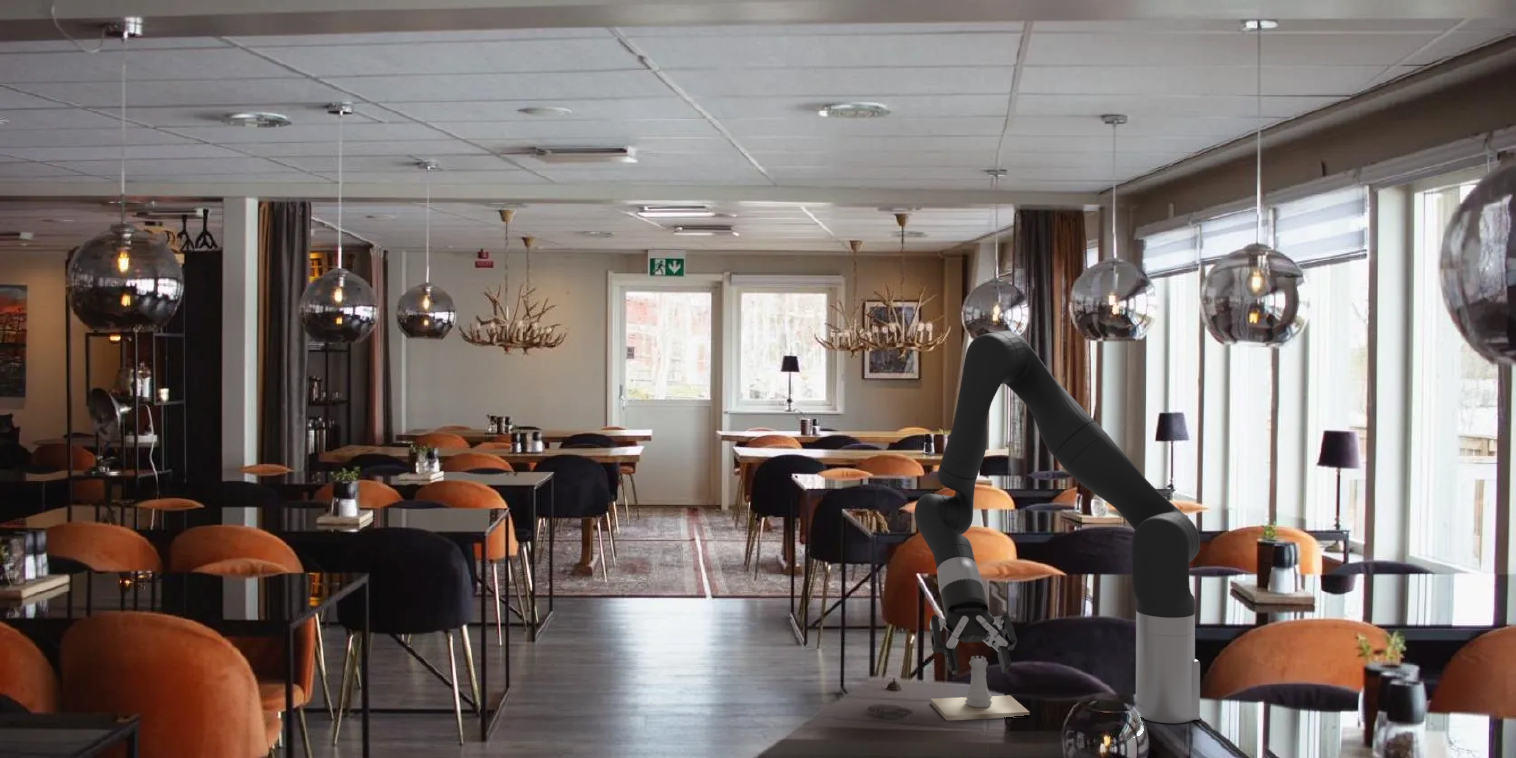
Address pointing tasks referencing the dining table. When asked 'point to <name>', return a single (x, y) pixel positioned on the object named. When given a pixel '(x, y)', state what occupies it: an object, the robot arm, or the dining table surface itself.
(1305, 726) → the dining table surface
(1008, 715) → the birch placemat
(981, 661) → the rook chess piece
